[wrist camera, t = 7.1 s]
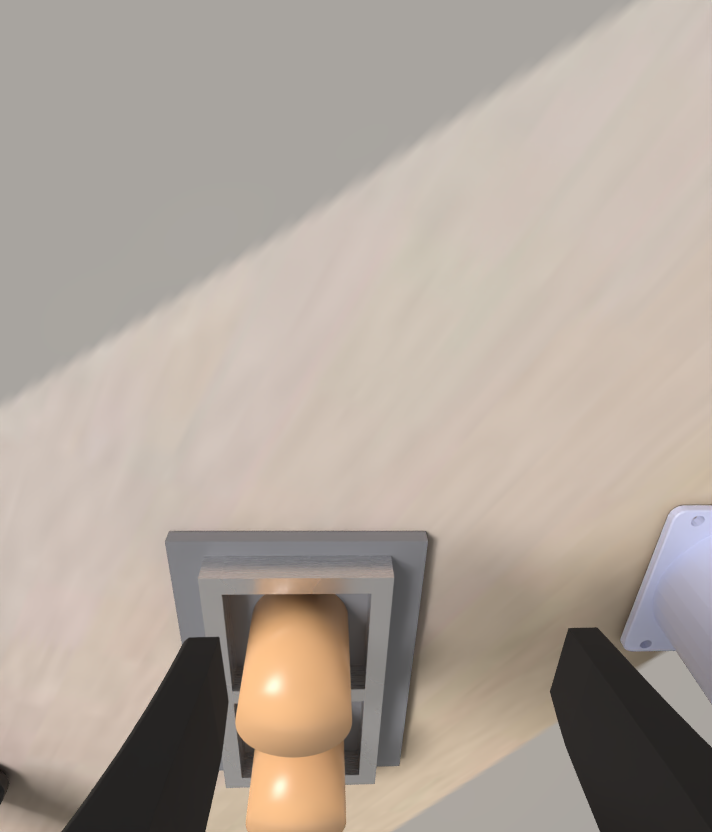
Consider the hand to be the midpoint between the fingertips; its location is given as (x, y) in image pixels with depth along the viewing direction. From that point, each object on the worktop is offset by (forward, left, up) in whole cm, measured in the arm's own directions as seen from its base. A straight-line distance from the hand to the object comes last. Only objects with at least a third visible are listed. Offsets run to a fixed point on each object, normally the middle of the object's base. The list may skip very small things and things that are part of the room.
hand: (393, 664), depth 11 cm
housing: (+2, +12, -9) cm, 15 cm away
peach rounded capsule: (+2, +8, -8) cm, 12 cm away
